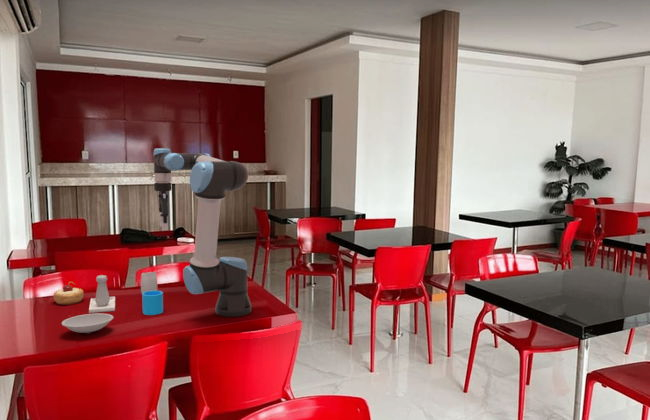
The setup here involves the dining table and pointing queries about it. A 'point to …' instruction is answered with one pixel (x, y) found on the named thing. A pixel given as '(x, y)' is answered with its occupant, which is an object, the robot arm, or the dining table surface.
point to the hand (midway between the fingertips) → (163, 228)
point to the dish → (87, 322)
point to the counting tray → (95, 308)
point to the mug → (152, 302)
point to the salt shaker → (102, 291)
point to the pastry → (68, 295)
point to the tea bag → (148, 282)
